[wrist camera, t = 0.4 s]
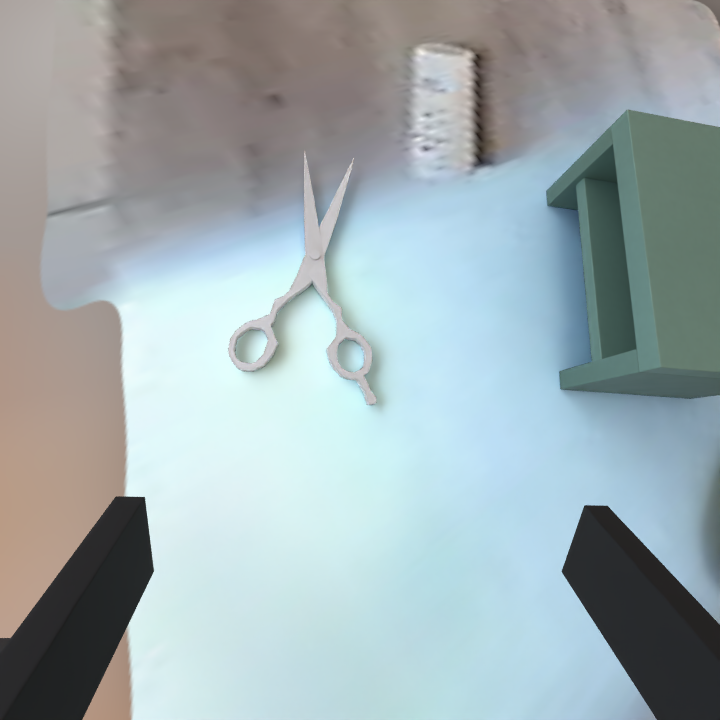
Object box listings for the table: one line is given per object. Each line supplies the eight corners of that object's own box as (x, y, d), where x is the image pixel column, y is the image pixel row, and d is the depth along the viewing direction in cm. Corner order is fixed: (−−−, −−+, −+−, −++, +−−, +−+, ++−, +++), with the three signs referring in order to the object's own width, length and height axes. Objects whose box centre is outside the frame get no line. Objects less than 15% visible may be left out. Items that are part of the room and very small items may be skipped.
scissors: (221, 388, 27) (262, 135, 31) (223, 390, 28) (263, 143, 32) (376, 404, 28) (394, 161, 33) (374, 405, 29) (392, 167, 33)
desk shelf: (689, 398, 34) (827, 381, 25) (560, 389, 32) (660, 367, 23) (662, 208, 38) (773, 137, 29) (546, 191, 36) (627, 109, 27)
